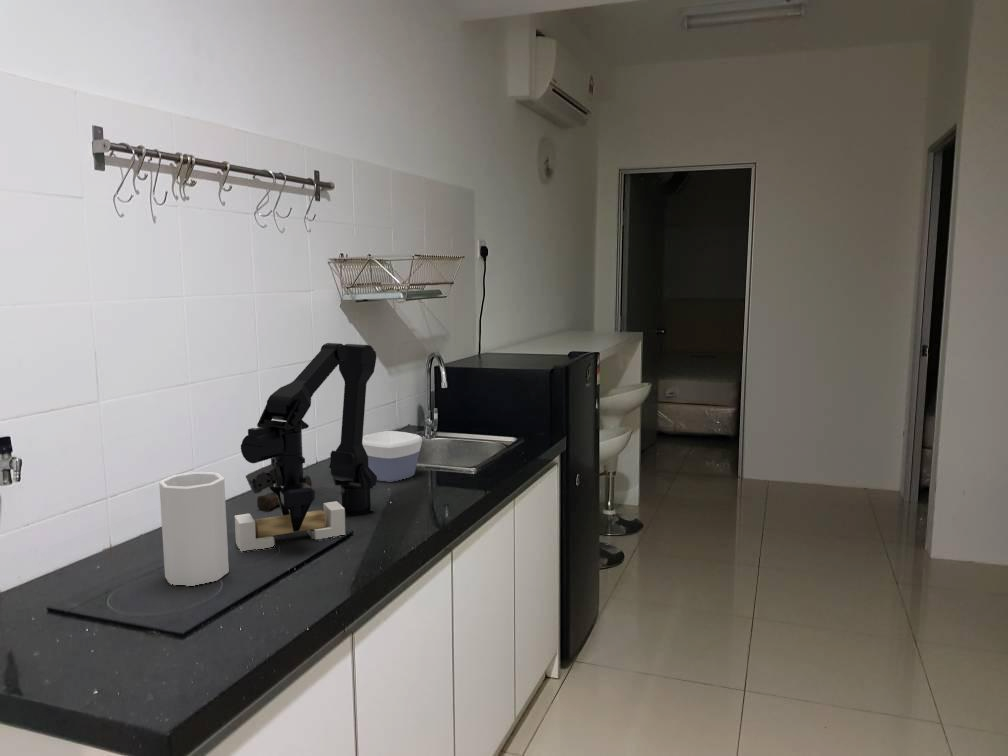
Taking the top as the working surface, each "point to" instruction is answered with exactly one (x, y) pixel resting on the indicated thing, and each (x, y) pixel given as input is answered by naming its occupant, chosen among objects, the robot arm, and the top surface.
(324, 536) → the stepped white cradle
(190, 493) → the cup
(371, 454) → the bowl
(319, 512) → the rail
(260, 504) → the brown wooden log
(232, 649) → the top surface
